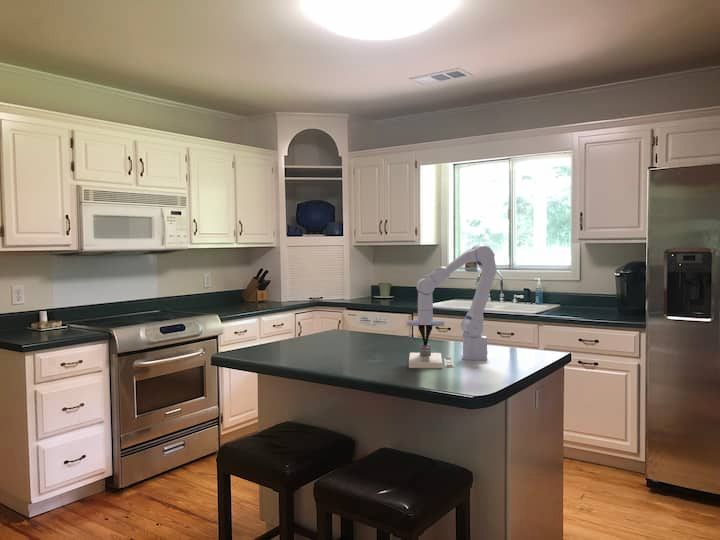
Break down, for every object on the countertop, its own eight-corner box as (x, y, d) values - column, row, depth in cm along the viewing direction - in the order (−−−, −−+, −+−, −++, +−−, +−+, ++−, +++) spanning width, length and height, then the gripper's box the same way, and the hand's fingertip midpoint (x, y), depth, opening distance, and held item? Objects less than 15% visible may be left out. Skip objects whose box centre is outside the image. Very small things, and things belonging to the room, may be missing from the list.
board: (441, 358, 228) (440, 352, 228) (442, 368, 210) (442, 362, 210) (410, 357, 229) (410, 352, 229) (408, 367, 211) (408, 362, 211)
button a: (430, 354, 227) (430, 343, 227) (430, 356, 223) (430, 345, 223) (420, 354, 228) (420, 343, 227) (420, 356, 224) (420, 345, 223)
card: (452, 359, 225) (452, 357, 225) (454, 367, 211) (454, 365, 211) (443, 359, 226) (443, 357, 226) (445, 367, 212) (445, 365, 212)
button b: (430, 357, 221) (430, 346, 221) (430, 359, 217) (430, 348, 217) (420, 357, 222) (420, 346, 221) (420, 359, 218) (420, 348, 217)
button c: (430, 360, 215) (430, 349, 215) (430, 362, 211) (430, 351, 211) (420, 360, 216) (419, 349, 215) (419, 362, 212) (419, 351, 211)
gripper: (444, 308, 228) (444, 343, 228) (406, 308, 229) (406, 342, 230) (444, 310, 221) (444, 346, 221) (406, 310, 222) (406, 345, 223)
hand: (425, 344), depth 225 cm, fingers closed, pressing on button a
